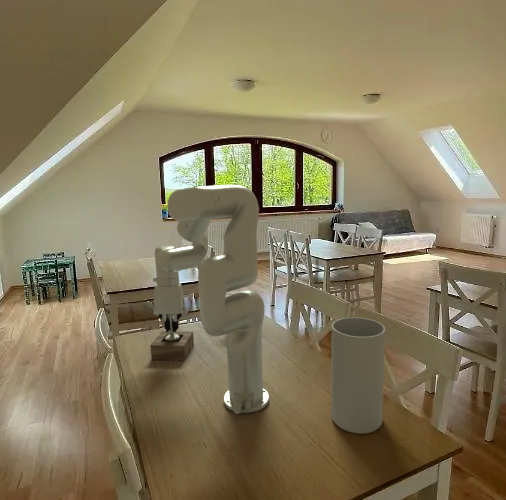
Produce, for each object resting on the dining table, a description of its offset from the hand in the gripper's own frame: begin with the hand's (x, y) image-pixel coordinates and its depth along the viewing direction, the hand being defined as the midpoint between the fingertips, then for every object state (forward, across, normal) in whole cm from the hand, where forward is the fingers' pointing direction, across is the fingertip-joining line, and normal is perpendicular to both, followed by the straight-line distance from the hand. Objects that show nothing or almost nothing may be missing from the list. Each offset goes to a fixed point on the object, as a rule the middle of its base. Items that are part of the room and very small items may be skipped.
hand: (171, 330), depth 138 cm
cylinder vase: (+9, +59, -36) cm, 70 cm away
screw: (+5, 0, 0) cm, 5 cm away
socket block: (+8, 0, 0) cm, 8 cm away
